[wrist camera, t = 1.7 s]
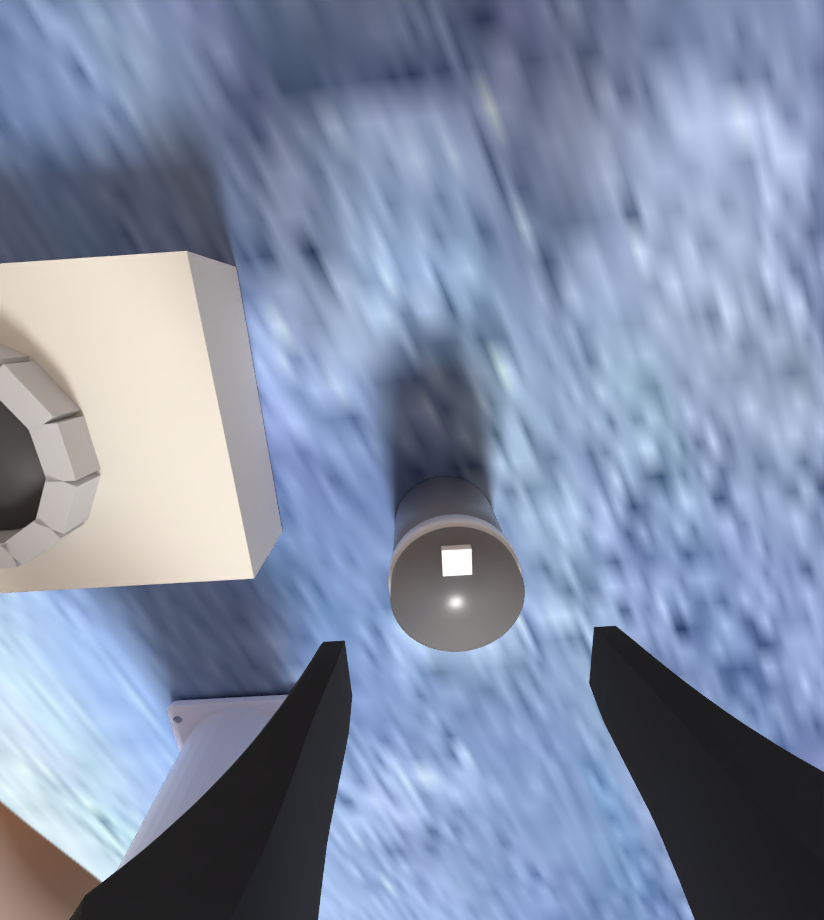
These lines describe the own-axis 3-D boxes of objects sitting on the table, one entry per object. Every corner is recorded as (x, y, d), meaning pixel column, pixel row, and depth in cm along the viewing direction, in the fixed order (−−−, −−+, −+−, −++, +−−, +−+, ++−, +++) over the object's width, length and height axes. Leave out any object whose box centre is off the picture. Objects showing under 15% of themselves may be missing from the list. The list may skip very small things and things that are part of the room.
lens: (494, 563, 21) (528, 656, 16) (397, 568, 22) (392, 663, 16) (494, 471, 20) (531, 534, 14) (389, 477, 20) (381, 543, 14)
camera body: (282, 531, 21) (242, 596, 16) (-76, 553, 21) (-225, 623, 16) (235, 266, 17) (165, 243, 12) (-198, 296, 17) (-440, 285, 12)
